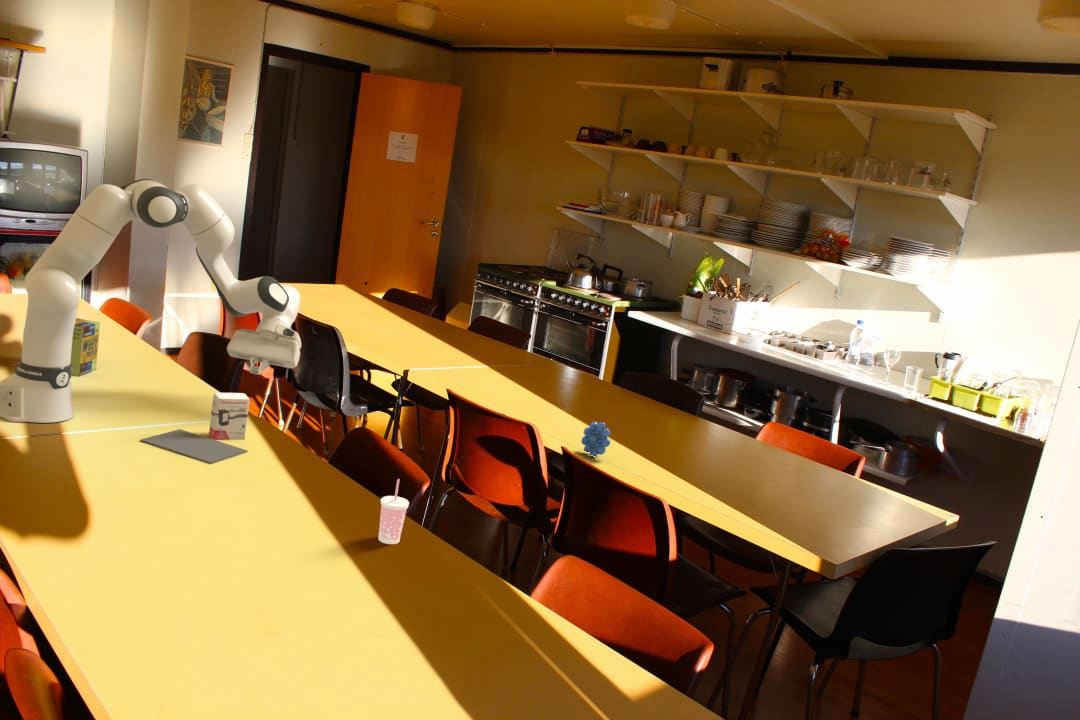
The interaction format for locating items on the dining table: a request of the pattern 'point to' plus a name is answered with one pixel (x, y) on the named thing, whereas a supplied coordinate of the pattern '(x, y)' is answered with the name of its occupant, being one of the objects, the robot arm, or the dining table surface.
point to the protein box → (84, 346)
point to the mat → (194, 446)
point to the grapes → (596, 438)
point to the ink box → (229, 416)
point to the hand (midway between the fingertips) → (254, 372)
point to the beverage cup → (392, 517)
